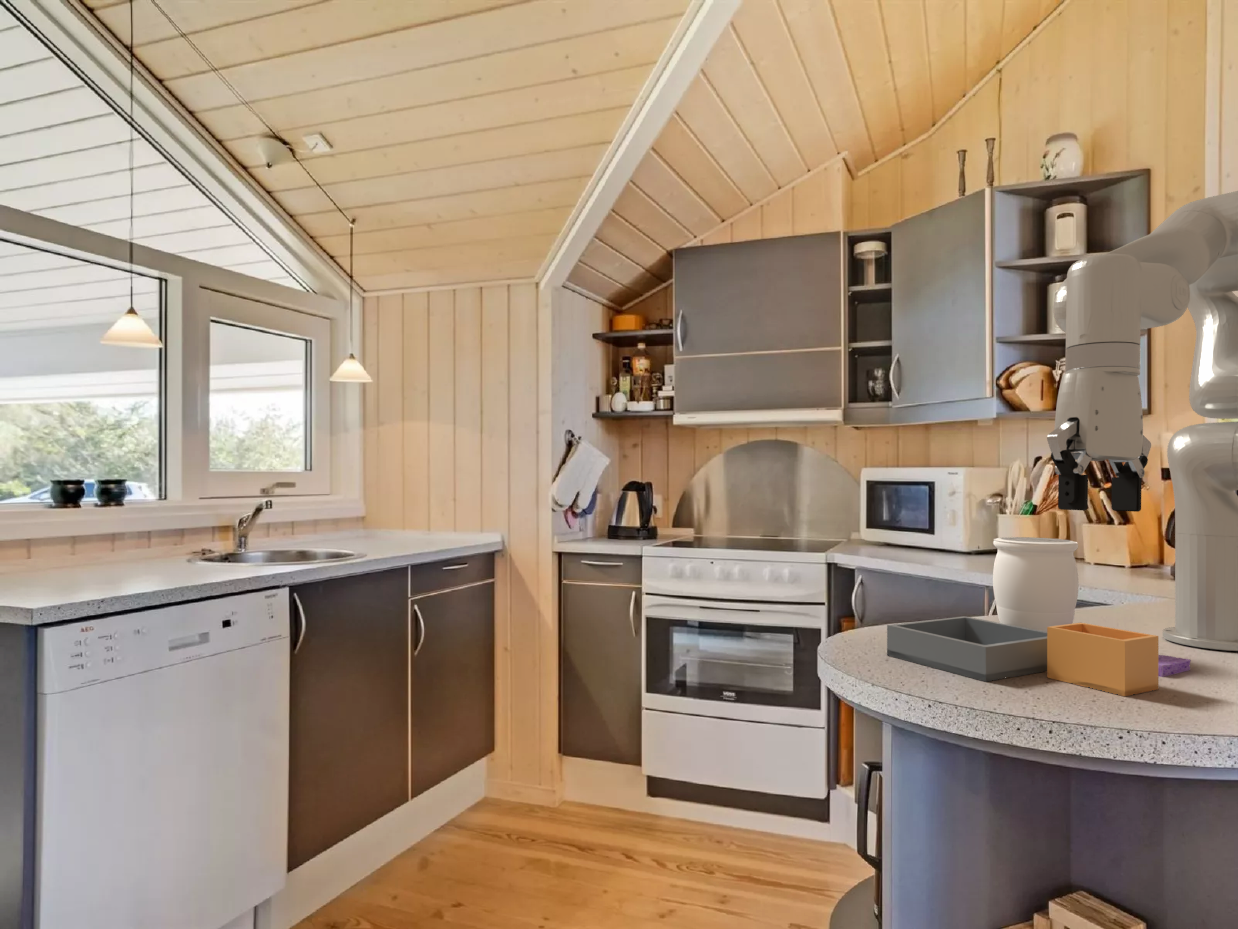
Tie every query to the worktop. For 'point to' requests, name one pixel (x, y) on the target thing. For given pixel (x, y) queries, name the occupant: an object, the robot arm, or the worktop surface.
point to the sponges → (1172, 665)
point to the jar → (1035, 581)
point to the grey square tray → (970, 647)
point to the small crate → (1103, 658)
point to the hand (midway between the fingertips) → (1099, 510)
